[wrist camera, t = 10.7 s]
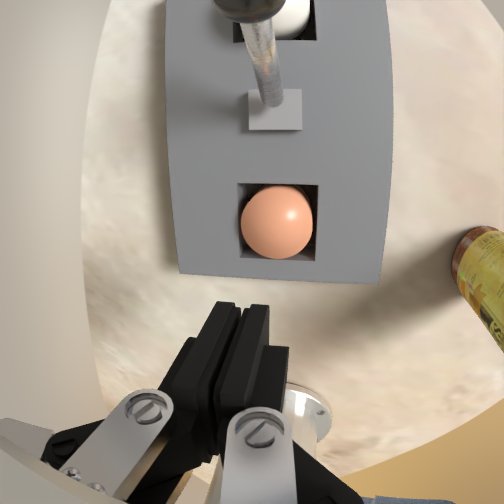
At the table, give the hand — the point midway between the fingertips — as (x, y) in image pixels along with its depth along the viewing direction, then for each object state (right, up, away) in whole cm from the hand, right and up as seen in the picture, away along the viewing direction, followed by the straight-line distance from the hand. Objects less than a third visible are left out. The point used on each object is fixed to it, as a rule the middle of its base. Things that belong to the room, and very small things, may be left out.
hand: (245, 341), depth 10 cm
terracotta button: (+2, +6, +12) cm, 14 cm away
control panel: (+2, +12, +9) cm, 16 cm away
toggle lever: (+2, +11, +6) cm, 12 cm away
